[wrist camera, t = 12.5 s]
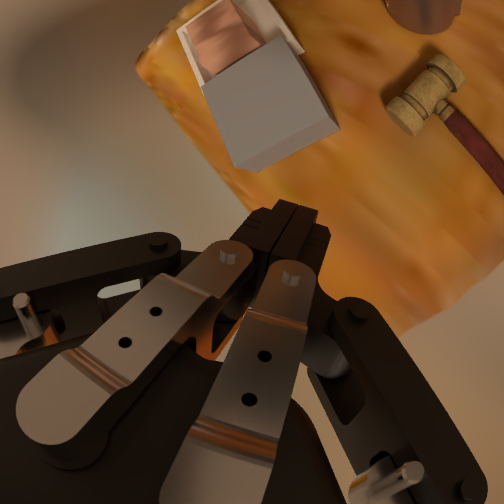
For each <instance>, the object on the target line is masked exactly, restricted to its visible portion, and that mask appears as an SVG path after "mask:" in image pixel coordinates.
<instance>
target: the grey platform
mask: <svg viewBox="0 0 504 504" xmlns="http://www.w3.org/2000/svg"><path fill="white" fill-rule="evenodd" d="M201 89H202V91H203V93H204V96H205V98H206V101H207V103H208V105H209V108H210V110H211V112H212V115H213V117H214V120H215V122H216V124H217V127H218V129H219V132H220V134H221V136H222V139H223V141H224V144H225V146H226V149H227V151H228V153H229V156H230V158H231V161H232V163H233V166H234V167H235V168H240V169H244V170H249V171H254V172H259V171H261V170H263V169H265V168H266V167H268V166H270V165H272V164H274V163H276V162H278V161H280V160H282V159H283V158H285V157H287V156H289V155H291V154H293V153H295V152H297V151H299V150H301V149H303V148H305V147H307V146H309V145H311V144H313V143H315V142H317V141H319V140H321V139H323V138H325V137H327V136H329V135H331V134H333V133H335V132H337V131H339V130H340V128H339V126H338V124H337V122H336V120H335V118H334V116H333V114H332V112H331V111H330V109H329V107H328V105H327V103H326V101H325V100H324V98H323V96H322V94H321V92H320V91H319V89H318V87H317V85H316V84H315V82H314V80H313V79H312V77H311V75H310V73H309V72H308V70H307V68H306V67H305V65H304V63H303V62H302V60H301V59H300V57H299V55H298V54H297V53H296V52H295V51H294V49H293V48H292V47H291V46H290V45H289V44H288V42H287V41H286V40H285V39H284V38H283V37H282V36H279V37H277V38H276V39H274V40H272V41H270V42H269V43H267V44H265V45H264V46H262V47H260V48H259V49H257V50H255V51H254V52H252V53H251V54H249V55H247V56H246V57H244V58H243V59H241V60H239V61H238V62H236V63H235V64H233V65H232V66H230V67H229V68H227V69H226V70H224V71H223V72H221V73H220V74H218V75H217V76H215V77H214V78H213V79H211V80H210V81H208V82H207V83H205V84H204V85H203V86H201Z"/></svg>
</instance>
